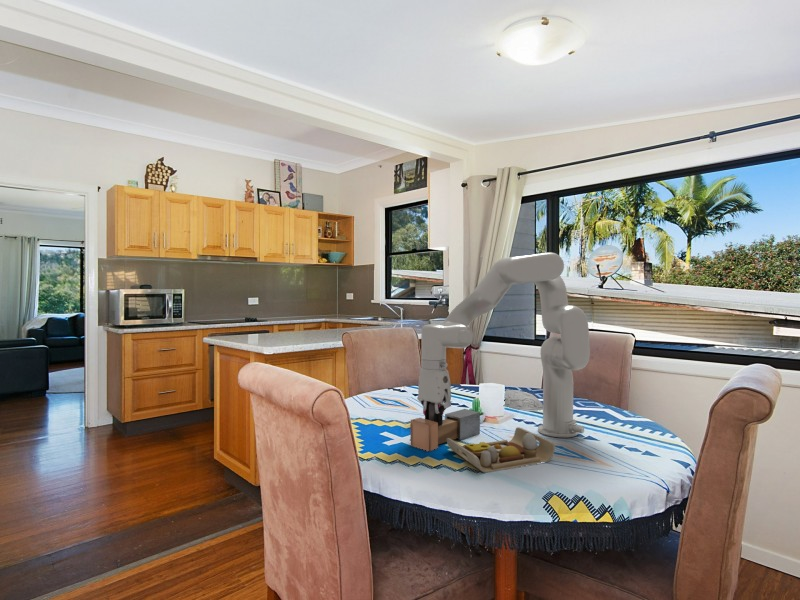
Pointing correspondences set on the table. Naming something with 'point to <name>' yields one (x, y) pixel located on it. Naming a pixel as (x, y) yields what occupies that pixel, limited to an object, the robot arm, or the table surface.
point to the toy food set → (506, 452)
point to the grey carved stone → (522, 401)
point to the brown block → (424, 434)
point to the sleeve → (466, 422)
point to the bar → (444, 426)
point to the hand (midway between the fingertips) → (433, 423)
